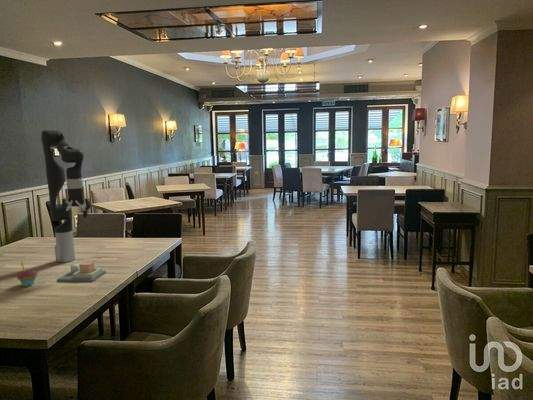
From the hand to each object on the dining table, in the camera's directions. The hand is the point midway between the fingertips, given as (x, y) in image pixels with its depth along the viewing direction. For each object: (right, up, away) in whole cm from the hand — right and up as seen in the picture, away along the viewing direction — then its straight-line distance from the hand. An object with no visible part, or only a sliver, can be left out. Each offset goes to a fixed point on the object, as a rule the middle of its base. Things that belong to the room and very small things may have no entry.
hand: (77, 217), depth 212 cm
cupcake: (-14, -31, -20) cm, 40 cm away
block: (+10, -28, -11) cm, 32 cm away
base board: (+8, -30, -11) cm, 32 cm away
